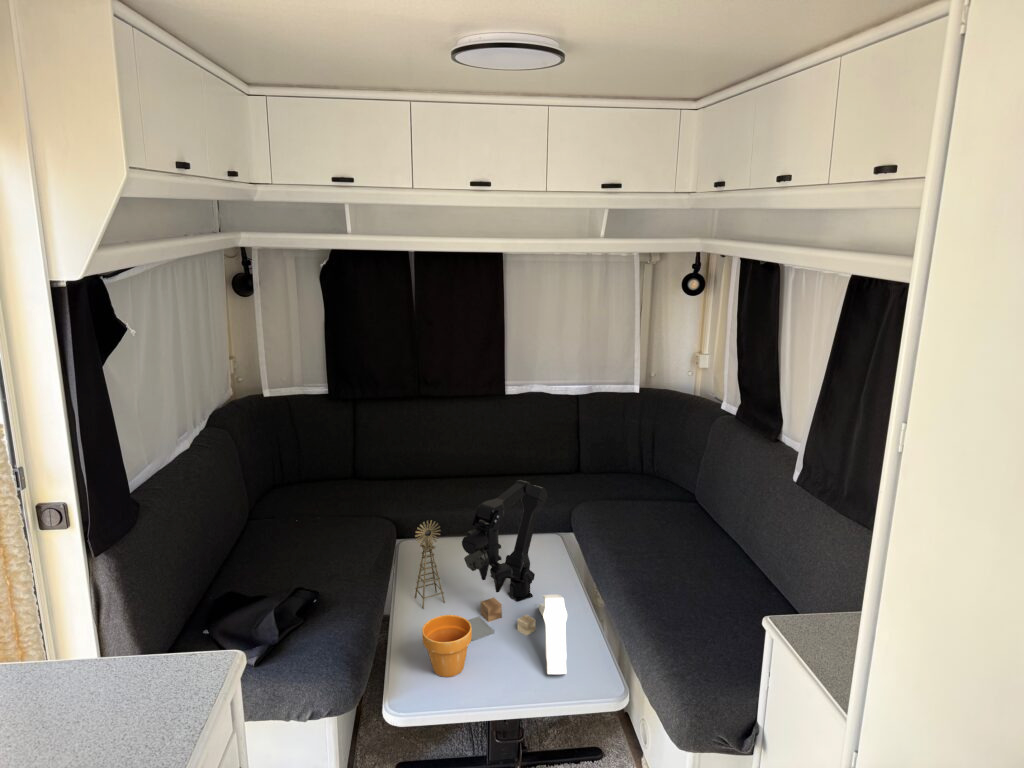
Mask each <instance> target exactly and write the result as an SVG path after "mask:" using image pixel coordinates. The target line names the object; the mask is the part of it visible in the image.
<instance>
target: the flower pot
mask: <svg viewBox="0 0 1024 768" xmlns="http://www.w3.org/2000/svg"><path fill="white" fill-rule="evenodd" d="M468 620H469V619H467V618H465V617H463V616H461V615H460V616H459V615H455V614H445V615H439V616H435V617H433V618H431V619H429V620H428V621H426V622H425V624H424V625H423V626H422V629H421V635H422V644H423V647H425V649H426V650H427V652H428V655H429V659H430V662H431V666H432V669H433V671H434V673H435V674H436V675H437V676H439V677H444V678H451V677H455V676H457V675H459V674H461V673H462V671H463V670H464V667H465V663H466V660H467V659H466V657H467V654H468V647H469V645H470V644H471V642H472V641H471V639H472V627H471V624H470V622H469V621H468Z"/></svg>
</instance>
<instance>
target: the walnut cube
mask: <svg viewBox="0 0 1024 768" xmlns="http://www.w3.org/2000/svg"><path fill="white" fill-rule="evenodd" d="M502 608H503V607H502V603H501V602H500V601H499V600H497V598H495V597H490V598H488V599H485V600H481V601H480V616H481V618H482V617H483V618H484V619H485V621H486V622H488V623H490V622H493V621H496V620H499V619H502V615H503V613H502V610H503V609H502Z"/></svg>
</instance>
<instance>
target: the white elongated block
mask: <svg viewBox="0 0 1024 768" xmlns="http://www.w3.org/2000/svg"><path fill="white" fill-rule="evenodd" d="M542 599H543V603H539V604H538V610H539V612H540V615H541V616H542V618H543V622H544V629H545V630H544V634H545V635H544V636H545V660H546V673H547V675H567V635H566V634H567V633H566V632H567V631H566V623H567V620H568V612H567V609H566V605H565V599H564V597H562V595H560V594H543V595H542Z"/></svg>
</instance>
